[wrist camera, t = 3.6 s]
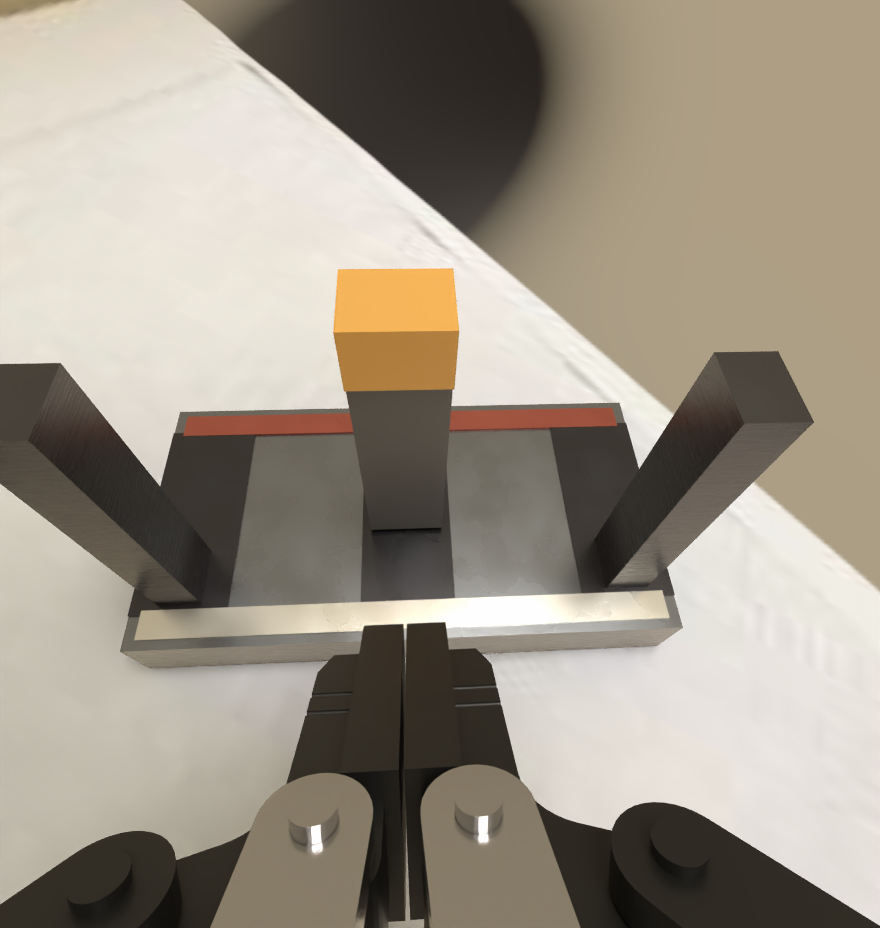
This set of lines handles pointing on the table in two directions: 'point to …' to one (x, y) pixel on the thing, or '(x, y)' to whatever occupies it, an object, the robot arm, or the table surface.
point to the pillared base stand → (394, 550)
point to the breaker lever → (399, 387)
